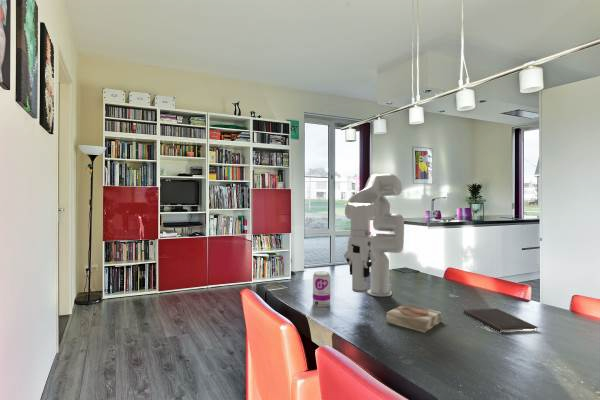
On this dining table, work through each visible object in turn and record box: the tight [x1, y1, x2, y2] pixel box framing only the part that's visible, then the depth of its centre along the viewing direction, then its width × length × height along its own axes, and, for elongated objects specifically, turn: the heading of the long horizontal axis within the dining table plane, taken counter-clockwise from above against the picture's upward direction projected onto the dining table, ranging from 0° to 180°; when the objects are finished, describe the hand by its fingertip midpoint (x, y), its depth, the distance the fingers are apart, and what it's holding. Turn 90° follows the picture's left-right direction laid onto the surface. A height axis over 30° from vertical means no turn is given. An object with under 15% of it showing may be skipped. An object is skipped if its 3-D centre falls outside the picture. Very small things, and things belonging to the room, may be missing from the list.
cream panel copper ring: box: [385, 303, 442, 333], centre depth 146 cm, size 16×16×4 cm
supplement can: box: [312, 271, 331, 308], centre depth 168 cm, size 8×8×15 cm
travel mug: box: [351, 244, 368, 294], centre depth 152 cm, size 6×7×20 cm
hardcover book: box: [462, 308, 539, 332], centre depth 147 cm, size 16×23×2 cm
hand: (359, 275), depth 152 cm, fingers closed on travel mug, 6 cm apart
